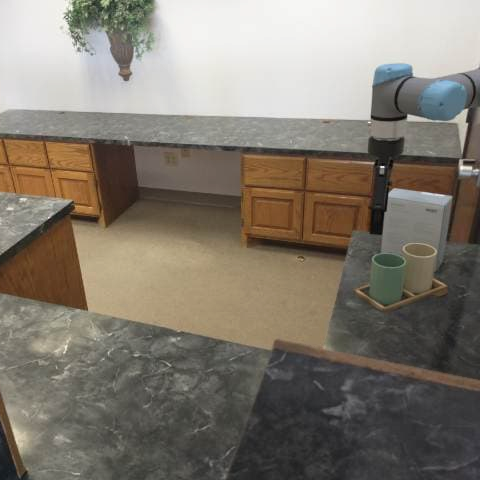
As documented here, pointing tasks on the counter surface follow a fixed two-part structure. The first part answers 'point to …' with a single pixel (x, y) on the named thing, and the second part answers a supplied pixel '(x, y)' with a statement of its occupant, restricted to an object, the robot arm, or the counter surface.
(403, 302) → the cup holder
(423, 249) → the cream cup
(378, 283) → the green cup
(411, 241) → the hard drive box
